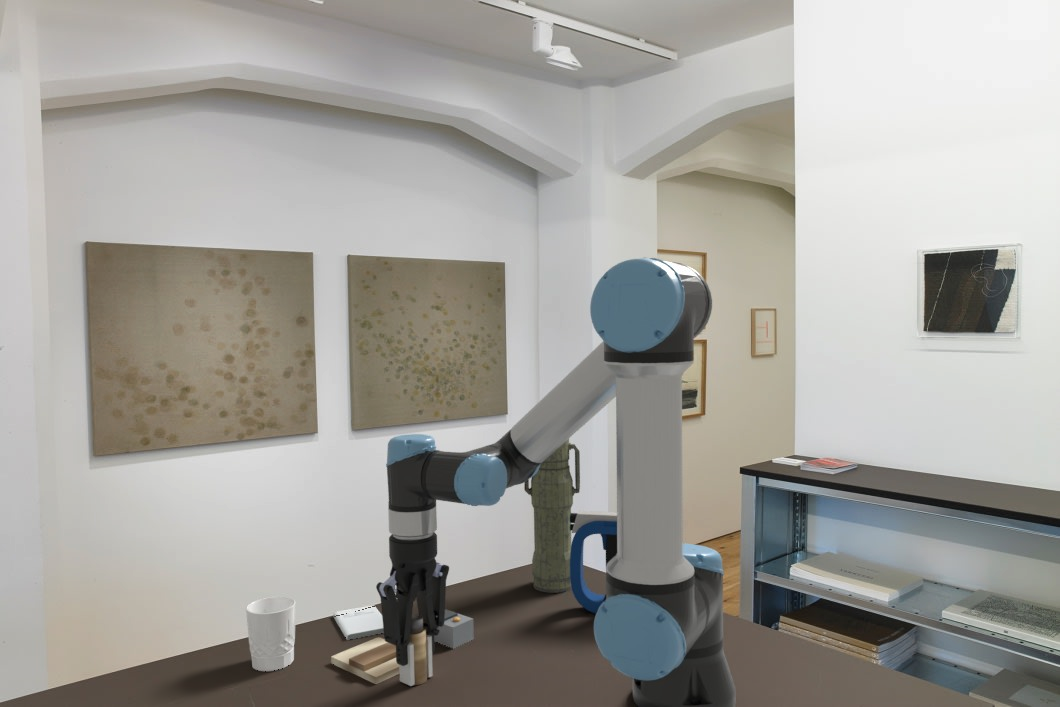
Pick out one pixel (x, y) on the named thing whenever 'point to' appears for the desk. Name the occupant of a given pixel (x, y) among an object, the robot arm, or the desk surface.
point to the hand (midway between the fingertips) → (416, 678)
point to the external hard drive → (360, 622)
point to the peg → (419, 649)
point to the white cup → (271, 632)
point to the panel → (369, 660)
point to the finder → (455, 630)
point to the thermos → (553, 519)
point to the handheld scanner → (582, 527)
